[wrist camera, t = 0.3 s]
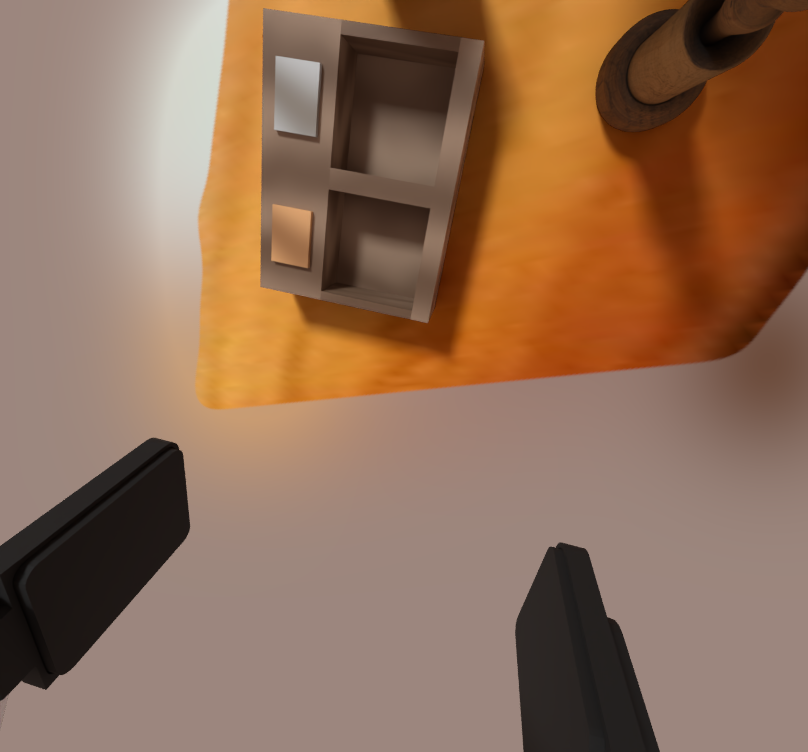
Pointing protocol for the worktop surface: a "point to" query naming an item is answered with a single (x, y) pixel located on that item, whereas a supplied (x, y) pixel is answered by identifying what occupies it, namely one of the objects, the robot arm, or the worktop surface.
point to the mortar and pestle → (680, 57)
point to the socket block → (362, 158)
